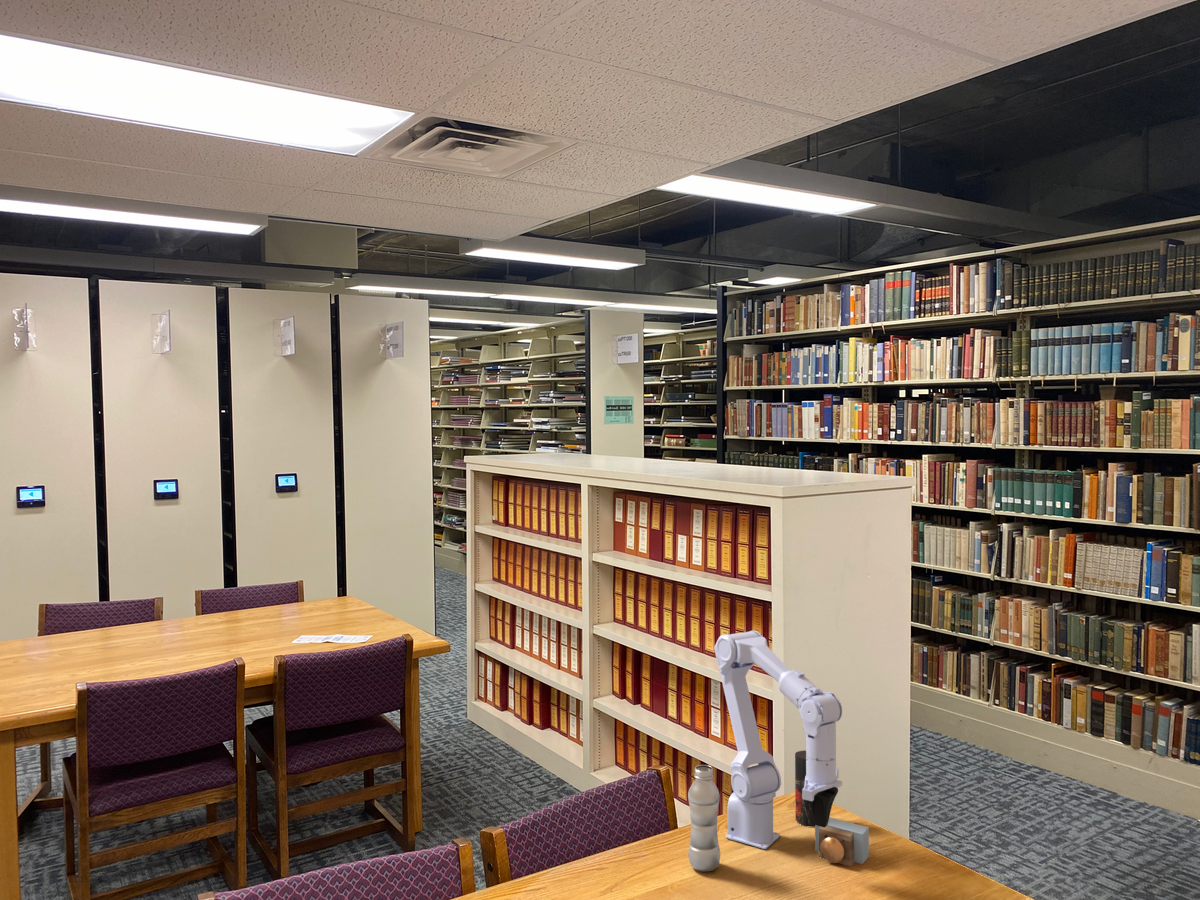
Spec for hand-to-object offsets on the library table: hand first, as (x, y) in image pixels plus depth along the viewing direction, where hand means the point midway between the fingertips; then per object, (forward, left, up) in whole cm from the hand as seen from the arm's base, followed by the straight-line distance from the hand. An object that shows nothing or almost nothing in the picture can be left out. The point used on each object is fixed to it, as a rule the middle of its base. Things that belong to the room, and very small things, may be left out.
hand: (821, 825), depth 163 cm
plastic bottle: (-20, -11, -10) cm, 25 cm away
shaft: (0, +11, -9) cm, 14 cm away
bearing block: (0, +11, -10) cm, 15 cm away
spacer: (0, +8, -10) cm, 13 cm away
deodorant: (-11, +22, -10) cm, 27 cm away
